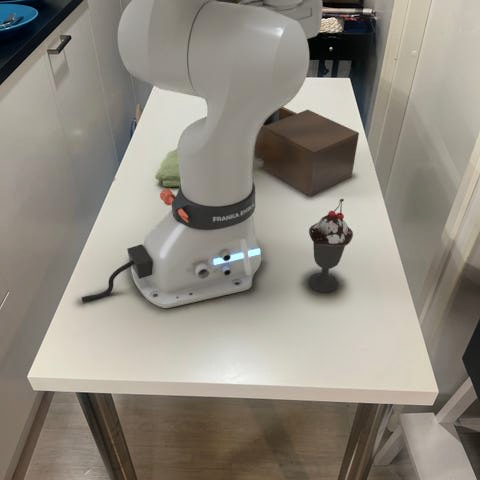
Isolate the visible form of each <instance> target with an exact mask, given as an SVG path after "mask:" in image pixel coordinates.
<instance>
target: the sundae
mask: <svg viewBox="0 0 480 480" xmlns="http://www.w3.org/2000/svg"><path fill="white" fill-rule="evenodd" d="M344 201H345V199H344V198H340V199H339V203H338V206H337V207H336V208H335V209H334V210H330V211H328V212H327V215H324V216H323V217H322V218H320V220H319V221H318V222H316V223H314V224H313V225H311V226H310V227H309V229H308V234H309V237H310V239H311V241H312V242H313V243H312V244H313V259H314V262H315V264H316V266H318V267H319V268H321V271H320V272H315V273H313V274H311V275H310V277H309V279H308V285H309V286H310V288H312V289H313V290H314V291H316V292H319V293H331V292H334V291H335V290H336V289H337V288H338V287H339V279H338V278H337V277H336V276H335V275H334V274H332V273H329V270H330V269H334V268H335V267H337V266H338V265H339V263H340V261H341V259H342V257H343V253H344V251H345V247H346V246H347V245H349V244H350V243H351V241H352V240H353V237H354V233H353V230H352V228H350V227H349V226H348V224H347V222H346V221H345V220H344V218H345V216H344V215H345V214H344V213H343V212H342V205H343V202H344ZM339 207H340V209H339ZM338 209H339V211H340V212H336V211H337V210H338Z"/></svg>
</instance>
